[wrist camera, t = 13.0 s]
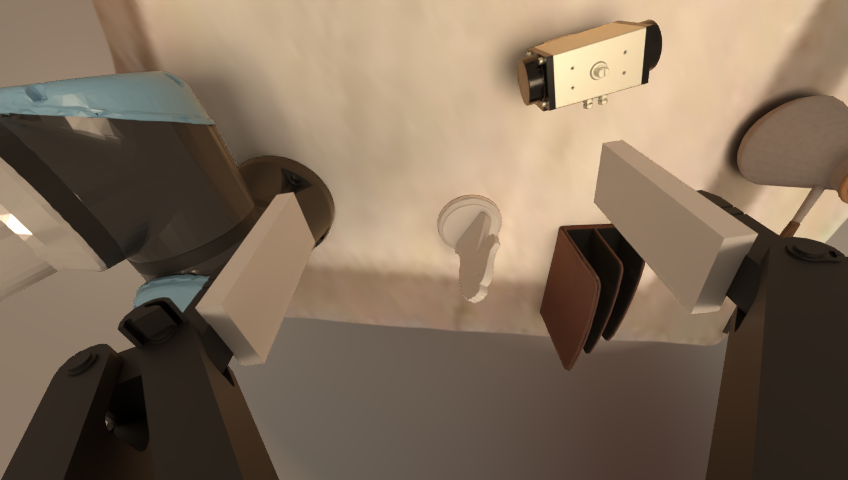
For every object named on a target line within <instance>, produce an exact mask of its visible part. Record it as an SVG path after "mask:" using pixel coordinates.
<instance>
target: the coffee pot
mask: <svg viewBox="0 0 848 480" xmlns="http://www.w3.org/2000/svg"><path fill="white" fill-rule="evenodd" d="M737 164H738V167H739V170H740V172H741V174H742V175H743V176H744V177H745V178H746V179H747V180H748V181H750V182H753V183H755V184H760V185H771V186H786V187H800V188H812V190H811V191H810V193H809V194H808V196H807V197H806V199H805V200H804V202H803V204H802V205H801V207H800V208H799V210H798V211H797V213H796V215H795V216H794V218H793V219H792V221H790V222H789V224H788V225H787V226H786V227H785V229H784V230H783V231H782V233H781V234H780V235H779V236H780V237H782V238H783V237H793V235H794V234H795V232H796V230H797V229H798V227H799V225H800V223H801V221H802V220H803V218H804V217H805V216H806V214H807V213H808V212H809V210H810V209H811V208H812V206H813V205H814V203H815V202H816V201H817V199H818V198H819V197H820V195H821V194H822V193H823V191H824V190H825V189H829V190H836V191H837V192H838V195H839V197H840V199H841V200H842V201H843V202H845V203H848V107H847V106H846V105H845V103H844V102H842V101H840V100H838V99H837V98H835V97H833V96H825V95H816V96H809V97H803V98H798V99H795V100H792V101H790V102H787V103H784V104H783V105H781V106H779V107H777V108H776V109H774V110H772V111H770V112H768V113H767V114H765V115H764V116H762V117H761V118H760V119H758V120H757V121H756V122H755V123H754V124H753V125H752V126H751V127H750V128H749V129H748V131H747V132H746V134H745V135H744V137H743V139H742V141H741V144H740V147H739V150H738V155H737Z"/></svg>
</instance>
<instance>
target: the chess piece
mask: <svg viewBox="0 0 848 480" xmlns="http://www.w3.org/2000/svg"><path fill="white" fill-rule="evenodd" d="M501 223H502V218H501V214H500V211H499V209H498V207H497V206H496V205H495V204H494V203H493V202H492V201H491V200H489V199H488V198H485V197H483V196H478V195H466V196H461V197H459V198H456V199H454V200H452V201H451V202H449V203H448V204H447V205H446V206H445V207H444V208H443V210H442V211H441V213H440V215H439V218H438V231H439V234H440V236H441V237H442V239H443V240H444V242H445V243H446V244H448V245H449V246H450V247H452V248H454V249H456V250H455V253H457V254H459V256H460V270H459V284H460V291H462V295H463V297H464V298H465V299H467V300H469V301H471V302H473V303H476V302H479V301H480V300H483V298H484V297H485V296H486V295H487V287H488V286H489V284H490V282H491V280H492V276H493V268H494V259H495V255H496V252H497V249H498V248H499V246H500V243H499V238H498V236H497V235H498V234H499V232H500V229H501Z"/></svg>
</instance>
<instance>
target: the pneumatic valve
mask: <svg viewBox="0 0 848 480" xmlns="http://www.w3.org/2000/svg"><path fill="white" fill-rule="evenodd" d="M661 51H662V36H661V31H660V28H659V26H658V25H657V23H656V22H655V21H653V20H646V21H643V22H639V23H635V22H626V21H616V22H613V23H609V24H606V25H603V26H600V27H597V28H593V29H590V30H587V31H584V32H581V33H577V34H574V35H573V33H572V34H569V35H565V36H562V37H559V38H556V39H553V40H549V41H546V42H543V44H542V45H539V46H536V47H532V48H529V49H528V53H527V57H525V58H522V59H520V60H519V63H518V81H519V87H520V92H521V96H522V99H523V101H524V103H525V104H526V105H527V106H528V105H532V104H536V105H537V106H538V107H539V108H540V109H541V110H542V111H547V110H549V111H550V110H553V109H557V108H561V107H564V106H568V105H571V104H575V103H578V102H582V101H583V103H584V105H583V108H585V109H588V108H591V107H592V103H591V102H592V100H593V98H596V97H598V99H599V100H598V104H599V105H602V104H606V103H607V99H606V98H607V94H610V93H614V92H617V91H621V90H625V89H628V88H632V87H635V86H639V85H642V84H646V83H648V78H649V71H650V70H652V69H653V68H654V67H655V66H656V65H657V63H658V61H659V59H660V55H661Z"/></svg>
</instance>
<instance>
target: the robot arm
mask: <svg viewBox="0 0 848 480" xmlns="http://www.w3.org/2000/svg"><path fill="white" fill-rule="evenodd" d="M215 125H216V123H215V122H214V120H213V119H211V118H209V116H208V115H207V113H206V111H205V110H204V108H203V107H202V105H201V103H200V102H199V100H198V98H197V97H196V95H195V93H194V92H193V90H192V89H191V87H190V86H189V85H188V84H187V83H186V82H185V81H184V80H183V79H181V78H180V77H178V76H176V75H174V74H172V73H169V72H164V71H146V72H133V73H122V74H112V75H102V76H93V77H84V78H75V79H67V80H59V81H51V82H45V83H37V84H29V85H23V86H11V87H3V88H0V301H2V300H3V299H6V298H7V297H9V296H11V295H13V294H15V293H17V292H19V291H21V290H23V289H25V288H27V287H29V286H30V285H32V284H34V283H36V282H38V281H40V280H42V279H44V278H46V277H48V276H50V275H52V274H53V273H55V272H57V271H62V270H68V269H72V270H85V271H98V272H102V271H105V270H107V269H109V268H111V267H112V266H114V265H116V264H117V263H119V262H121V261H123V260H125V259H127V260H128V261H129V262H130V263H131V264H132V265H133V266H134V267H135V269H136V270H137V271H138V272H139V273H140V274H141V275H142V276H143V277H144V279H145V280H146V283H145V284H143V285H142V286H141V287H140V288H139V289H138V290H137V293H136V297H135V299H134V304H135V305H134V308H133V310H132V311H131V312H130V313H129V314H127V315H126V316H125V317H124V318H123V320H122V321H121V322H120V324H119V327H118V330H119V331H120V332H121V333H122V334H123V335H124V336H125V337H126V338H127V339H129V340H130V341H131V342H132V343H133V344H134V345H135V346H136V347H133V348H131V349H128V350H125V351H122V352H120V353H117V352H116V351H115V350H113V349H112V348H111V347H110V346H109V345H107V344H98V345H95V346H92V347H89V348H87V349H85V350H83V351H80V352H78V353H77V354H75V356H72V357H71V358H69V359H68V360H67V362H65V363H64V364H63V366H61V367H60V368H59V369H58V371H57V372H56V374H55V375H54V377H53V378H52V380H51V382H50V385H49V386H48V388H47V390H46V392H45V394H44V396H43V398H42V400H41V402H40V404H39V406H38V408H37V410H36V412H35V414H34V416H33V418H32V420H31V422H30V424H29V426H28V428H27V430H26V432H25V434H24V436H23V438H22V440H21V442H20V443H19V446H18V448H17V449H16V451H15V453H14V455H13V457H12V459H11V461H10V463H9V465H8V467H7V469H6V471H5V473H4V475H3V477H2V479H1V480H279V479H278V476H277V474H276V471H275V469H274V467H273V464H272V462H271V460H270V457H269V455H268V452H267V450H266V448H265V445H264V443H263V441H262V439H261V436H260V434H259V431H258V429H257V427H256V424H255V422H254V420H253V417H252V415H251V413H250V411H249V408H248V406H247V403H246V401H245V399H244V396H243V394H242V392H241V389H240V387H239V385H238V382H237V380H236V378H235V376H234V373H233V371H232V370H231V369H230V367H229V366H228V364H229V362H230V360H231V358H232V356H233V355H234V356H235V358H236V359H237V360H238V361H239V362H240V364H241V365H242V366H244V365H252V364H261V363H265V360H266V358H267V356H268V353H269V351H270V349H271V346H272V344H273V342H274V339H275V337H276V334H277V332H278V330H279V327H280V325H281V322H282V320H283V318H284V315H285V313H286V311H287V308H288V306H289V304H290V301H291V299H292V297H293V294H294V292H295V289H296V287H297V285H298V282H299V280H300V278H301V275H302V273H303V271H304V268H305V266H306V263H307V261H308V259H309V256H310V254H311V252H312V250H313V249H314V248H315V247H317V246H318V245H319V244H320V243H321V242H322V241H323V240H324V239H325V238H326V236H327V235H328V233H329V231H330V228H331V226H332V223H333V220H334V211H335V210H334V203H333V199H332V196H331V194H330V192H329V190H328V188H327V187H326V185H325V184H324V183H323V181H322V180H321V179H320V178H319V177H318V176H317V175H316V174H315V173H313V172H312V171H311V170H310V169H308V168H307V167H305V166H303V165H301V164H299V163H297V162H295V161H292V160H290V159H286V158H282V157H275V156H263V157H257V158H253V159H251V160H248V161H246V162H245V163H243V164H242V165H240V166H239V167H238V168H237V166H236V164H235V163H234V161H233V159H232V157H231V155H230V153H229V151H228V150H227V148H226V146H225V144H224V142H223V140H222V138H221V137H220V135H219V133H218V131H217V129H216V127H215ZM594 203H595V204H596V205H597V206H598V208H599V209H600V210H601V211H602V212H603V213H604V214H605V216H606V217H607V218H608V219H609V220H610V221H611V223H612V224H613V225H614V226H615V227H616V228H617V230H618V231H619V232H620V233H621V234H622V235H623V236H624V238H625V239H626V240H627V241H628V242H629V243H630V245H631V246H632V247H633V248H634V249H635V250H636V251H637V253H638V254H639V255H640V256H641V257H642V258H643V260H644V261H645V262H646V263H647V264H648V265H649V266H650V268H651V269H652V270H653V271H654V272H655V273H656V275H657V276H658V277H659V278H660V279H661V280H662V282H663V283H664V284H665V285H666V286H667V287H668V288H669V290H670V291H671V292H672V293H673V294H674V295H675V297H676V298H677V299H678V300H679V301H680V302H681V303H682V305H683V306H684V307H685V308H686V309H687V310H688V312H689V313H690V314H696V313H705V312H714V311H719V309H720V307H721V305H722V303H723V301H724V299H725V297H726V296H728V297H729V298H730V299H731V300H732V301H733V302H734V303H735V304H736V305H737V306H736V308H735V310H734V312H733V314H732V315H731V317H730V319H729V321H728V323H727V325H726V326H725V328H724V330H723V333H726V334H728V332H729V336H728V342H727V349H726V355H725V361H724V367H723V374H722V380H721V386H720V392H719V399H718V405H717V411H716V417H715V423H714V429H713V436H712V442H711V448H710V454H709V461H708V467H707V473H706V480H848V257H845V256H844V254H842V253H841V252H840V251H838V250H837V249H835V248H834V247H831V246H829V245H826V244H824V243H822V242H819V241H815V240H811V239H807V238H798V237H783V238H782V237H780V236H779V235H777V234H776V233H774V232H773V231H771V230H770V229H768V228H767V227H765V226H764V225H762V224H761V223H759V222H757V221H756V220H754V219H753V218H751V217H750V216H748V215H747V214H744V212H742V211H741V210H739V209H738V208H736V207H733V205H732V204H730V203H728V202H727V201H725V200H724V199H722V198H721V197H719V196H716V195H714V194H711V193H708V192H705V191H703V190H699V191H695V190H694V189H692V188H691V187H690V186H688V185H687V184H685V183H684V182H682V181H681V180H679V179H678V178H677V177H675V176H674V175H672V174H671V173H669V172H668V171H666V170H665V169H663V168H662V167H661V166H659V165H658V164H656V163H655V162H653V161H652V160H650V159H649V158H648V157H646V156H645V155H643V154H642V153H640V152H639V151H637V150H636V149H635V148H633V147H632V146H630V145H629V144H627V143H626V142H624V141H623V140H620V141H614V142H607V143H603V145H602V152H601V158H600V165H599V171H598V178H597V184H596V191H595V198H594ZM105 421H107V422H108V424H107V426H106V423H105Z"/></svg>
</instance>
